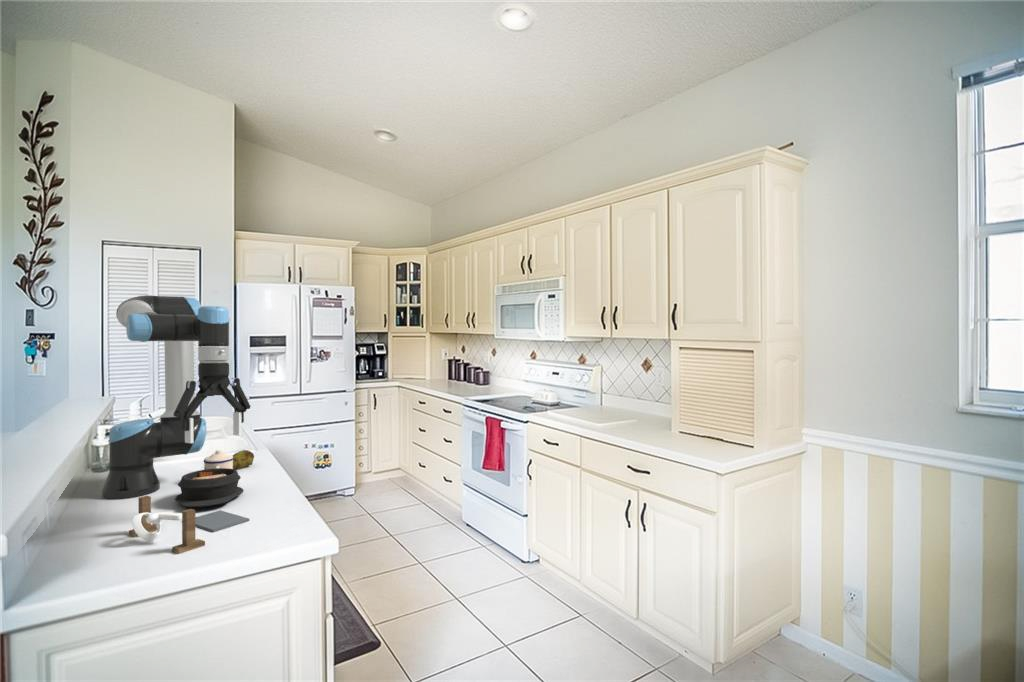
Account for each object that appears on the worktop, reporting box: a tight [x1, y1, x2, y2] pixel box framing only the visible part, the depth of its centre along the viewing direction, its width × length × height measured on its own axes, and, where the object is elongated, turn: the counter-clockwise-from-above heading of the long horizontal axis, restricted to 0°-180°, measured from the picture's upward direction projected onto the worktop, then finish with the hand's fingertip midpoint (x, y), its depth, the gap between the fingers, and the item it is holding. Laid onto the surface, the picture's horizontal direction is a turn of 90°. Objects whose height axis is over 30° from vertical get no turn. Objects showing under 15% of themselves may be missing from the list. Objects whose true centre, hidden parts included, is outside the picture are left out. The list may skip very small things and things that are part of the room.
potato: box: [232, 449, 255, 471], centre depth 198 cm, size 8×13×8 cm, turn 117°
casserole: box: [174, 468, 245, 508], centre depth 165 cm, size 25×19×8 cm
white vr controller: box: [131, 511, 182, 542], centre depth 131 cm, size 8×12×7 cm, turn 78°
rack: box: [128, 495, 206, 555], centre depth 132 cm, size 24×6×9 cm, turn 59°
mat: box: [195, 509, 250, 533], centre depth 145 cm, size 14×10×1 cm
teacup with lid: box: [203, 449, 234, 470], centre depth 182 cm, size 12×9×12 cm
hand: (214, 438), depth 147 cm, fingers open, 13 cm apart
